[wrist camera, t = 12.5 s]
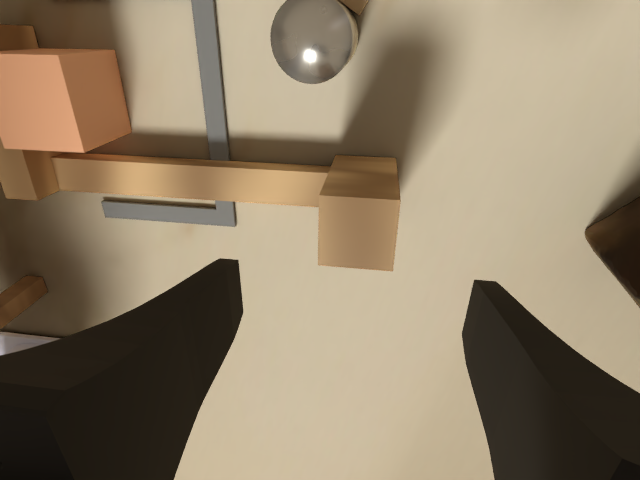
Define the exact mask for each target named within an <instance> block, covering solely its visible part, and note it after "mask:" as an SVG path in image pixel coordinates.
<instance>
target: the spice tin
mask: <svg viewBox="0 0 640 480" xmlns="http://www.w3.org/2000/svg"><path fill="white" fill-rule="evenodd" d="M357 44H358V27H357V23H356V20H355V18H354V16H353V14H352V13H351V11H350V10H349V9H348V8H347V7H346V6H345V5H344V4H342V3H341V2H339V1H337V0H287V1H286V2H285V3H284V4H283V5H282V6H281V7H280V9H279V10H278V12H277V13H276V15H275V18H274V20H273V24H272V28H271V46H272V51H273V54H274V57H275V59H276V61H277V63H278V64H279V66H280V67H281V68H282V70H283V71H284V72H285V73H286V74H287V75H289V76H290V77H291V78H293V79H295V80H297V81H299V82H302V83H307V84H317V83H322V82H325V81H327V80H329V79H331V78H333V77H334V76H335V75H337V74H338V73H339V72H340V71H341V70H342V69H343V67H344V66H345V65H346V64H347V63H348V62H349V61H350V60H351V58H352V57H353V55H354V53H355V51H356V48H357Z"/></svg>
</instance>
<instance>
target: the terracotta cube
mask: <svg viewBox="0 0 640 480" xmlns="http://www.w3.org/2000/svg"><path fill="white" fill-rule="evenodd" d="M131 132H132V131H131V126H130V121H129V116H128V111H127V107H126V102H125V97H124V92H123V87H122V83H121V78H120V73H119V68H118V63H117V59H116V54H115V50H103V49H52V48H37V49H23V50H9V51H0V138H1V140H2V143H3V146H4V149H23V150H42V151H61V152H80V153H85V152H87V151H90V150H92V149H94V148H97V147H99V146H101V145H104V144H106V143H108V142H111V141H113V140H115V139H117V138H120V137H122V136H124V135H127V134H129V133H131Z"/></svg>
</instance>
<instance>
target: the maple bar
mask: <svg viewBox="0 0 640 480" xmlns="http://www.w3.org/2000/svg"><path fill="white" fill-rule="evenodd" d="M340 1H341V2H342V3H344V4H345V5H346V6H347V7H349V8H350V9H351V10H353V11H354V12H355V13H357V14H358V15H359V16H360V14H361V12H362V11H363V9H364V7H365V6H366V4H367V2H368V1H369V0H340Z"/></svg>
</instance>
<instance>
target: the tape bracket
mask: <svg viewBox="0 0 640 480" xmlns="http://www.w3.org/2000/svg"><path fill="white" fill-rule="evenodd" d="M191 2H192V11H193V19H194V27H195V36H196V44H197V52H198V61H199V69H200V78H201V86H202V94H203V103H204V111H205V119H206V128H207V136H208V144H209V153H210V160H221V161H230V157H229V146H228V136H227V126H226V115H225V105H224V95H223V84H222V74H221V63H220V53H219V43H218V32H217V22H216V12H215V1H214V0H191ZM101 203H102V206H103V210H104V214H105V217H109V218H122V219H136V220H149V221H163V222H176V223H190V224H203V225H217V226H230V227H235V226H236V219H235V209H234V202H232V201H217V200H215V203H216V208H207V207H192V206H177V205H163V204H148V203H134V202H119V201H105V200H103V201H102V202H101Z"/></svg>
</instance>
